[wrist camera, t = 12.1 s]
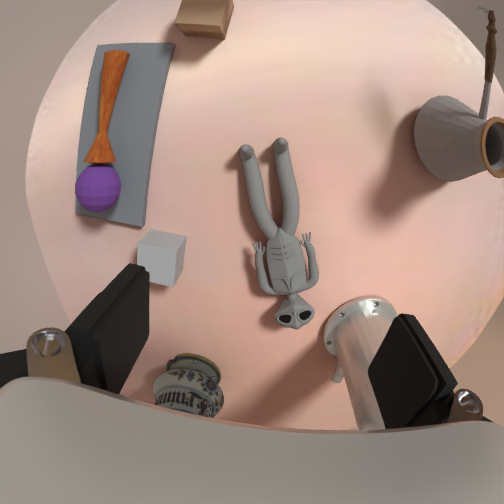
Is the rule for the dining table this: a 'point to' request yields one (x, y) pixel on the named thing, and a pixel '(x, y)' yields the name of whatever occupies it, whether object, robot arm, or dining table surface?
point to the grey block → (162, 256)
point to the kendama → (103, 143)
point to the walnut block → (205, 17)
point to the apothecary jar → (190, 386)
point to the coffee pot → (462, 130)
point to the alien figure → (281, 238)
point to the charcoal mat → (127, 125)
